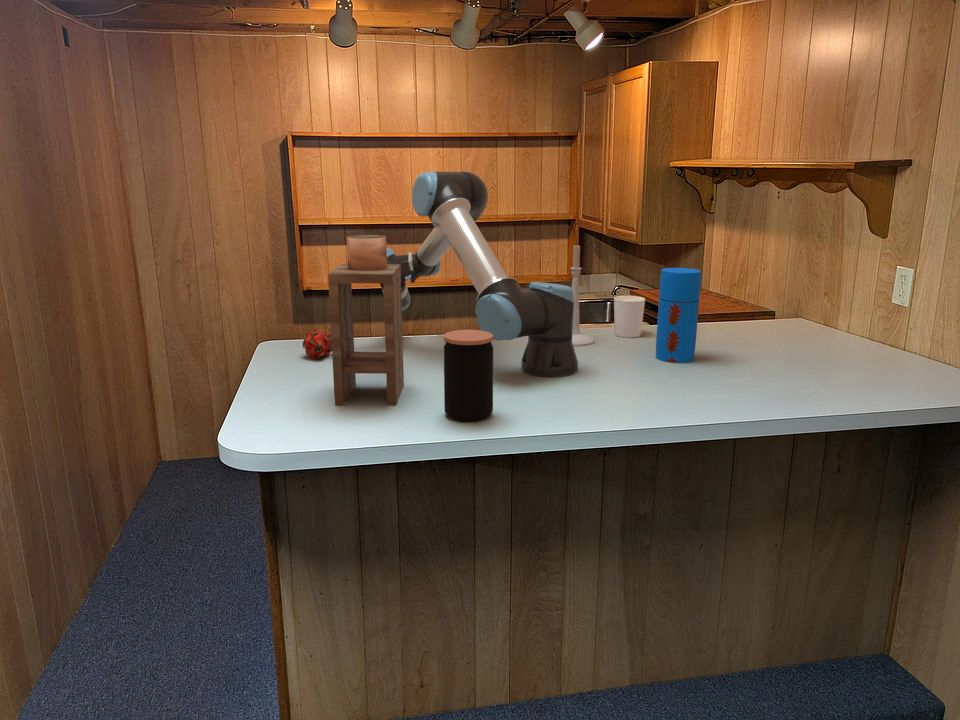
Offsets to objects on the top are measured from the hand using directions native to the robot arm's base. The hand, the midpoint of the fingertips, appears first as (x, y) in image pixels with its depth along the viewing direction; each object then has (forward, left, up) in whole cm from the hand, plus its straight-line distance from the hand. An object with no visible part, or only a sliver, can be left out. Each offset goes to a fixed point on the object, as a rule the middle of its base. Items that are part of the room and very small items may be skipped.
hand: (384, 256), depth 196 cm
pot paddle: (-12, +17, +1) cm, 21 cm away
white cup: (-42, -68, -29) cm, 85 cm away
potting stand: (-19, +26, -29) cm, 43 cm away
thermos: (-65, -49, -29) cm, 86 cm away
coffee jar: (-46, +24, -29) cm, 60 cm away
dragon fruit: (+18, +9, -29) cm, 35 cm away
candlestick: (-32, -50, -29) cm, 66 cm away
